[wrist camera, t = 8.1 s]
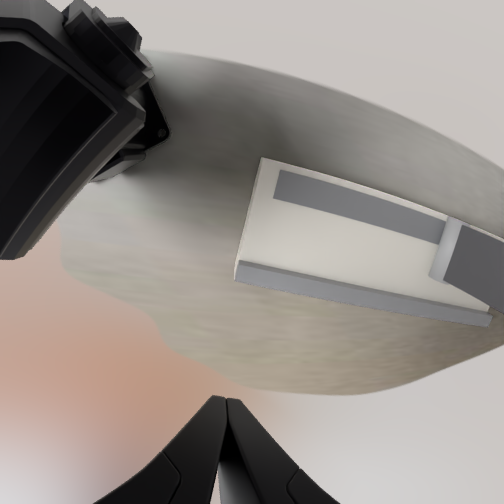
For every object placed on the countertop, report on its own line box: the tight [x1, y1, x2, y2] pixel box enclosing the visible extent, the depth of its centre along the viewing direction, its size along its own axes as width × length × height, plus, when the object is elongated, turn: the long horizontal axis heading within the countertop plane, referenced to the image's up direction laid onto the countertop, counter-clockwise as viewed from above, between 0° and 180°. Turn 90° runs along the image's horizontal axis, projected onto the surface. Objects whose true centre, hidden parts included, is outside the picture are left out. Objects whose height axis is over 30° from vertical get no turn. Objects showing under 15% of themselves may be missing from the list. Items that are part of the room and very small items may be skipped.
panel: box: [234, 157, 504, 327], centre depth 20 cm, size 20×7×3 cm, turn 77°
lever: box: [428, 216, 504, 314], centre depth 14 cm, size 2×4×10 cm, turn 168°
